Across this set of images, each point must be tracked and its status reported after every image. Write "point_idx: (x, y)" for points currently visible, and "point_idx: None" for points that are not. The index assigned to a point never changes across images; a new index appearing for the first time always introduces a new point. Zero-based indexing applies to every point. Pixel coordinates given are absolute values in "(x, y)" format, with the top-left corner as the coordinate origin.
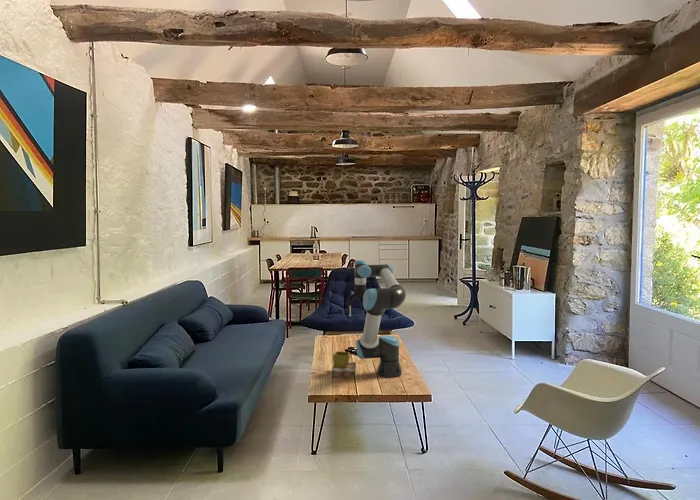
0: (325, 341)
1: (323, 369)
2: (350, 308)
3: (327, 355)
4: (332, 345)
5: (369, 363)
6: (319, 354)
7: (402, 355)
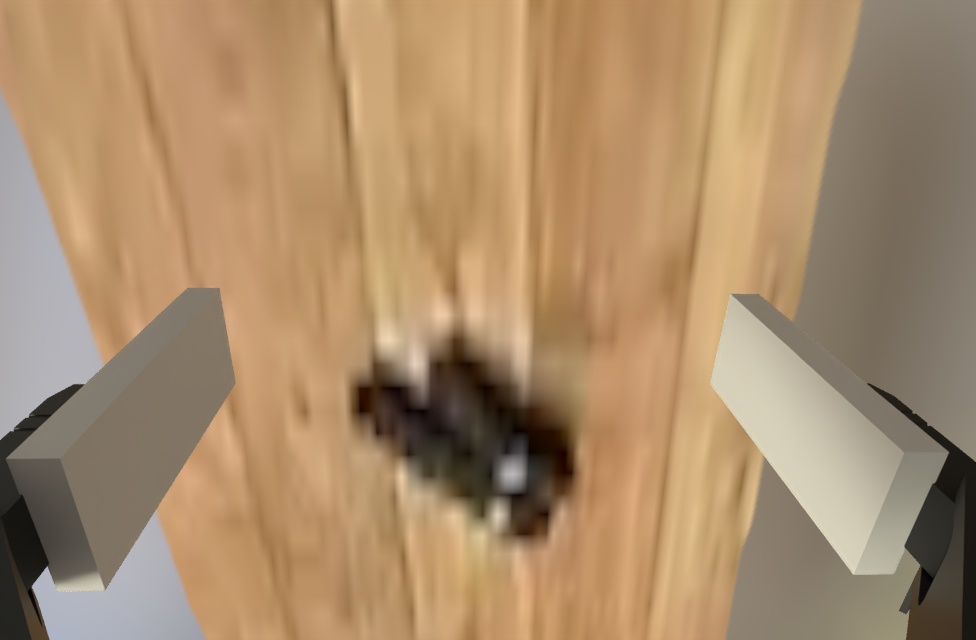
0: (691, 634)
1: None
2: (861, 410)
3: None
4: (654, 565)
5: (383, 145)
6: None
7: None
